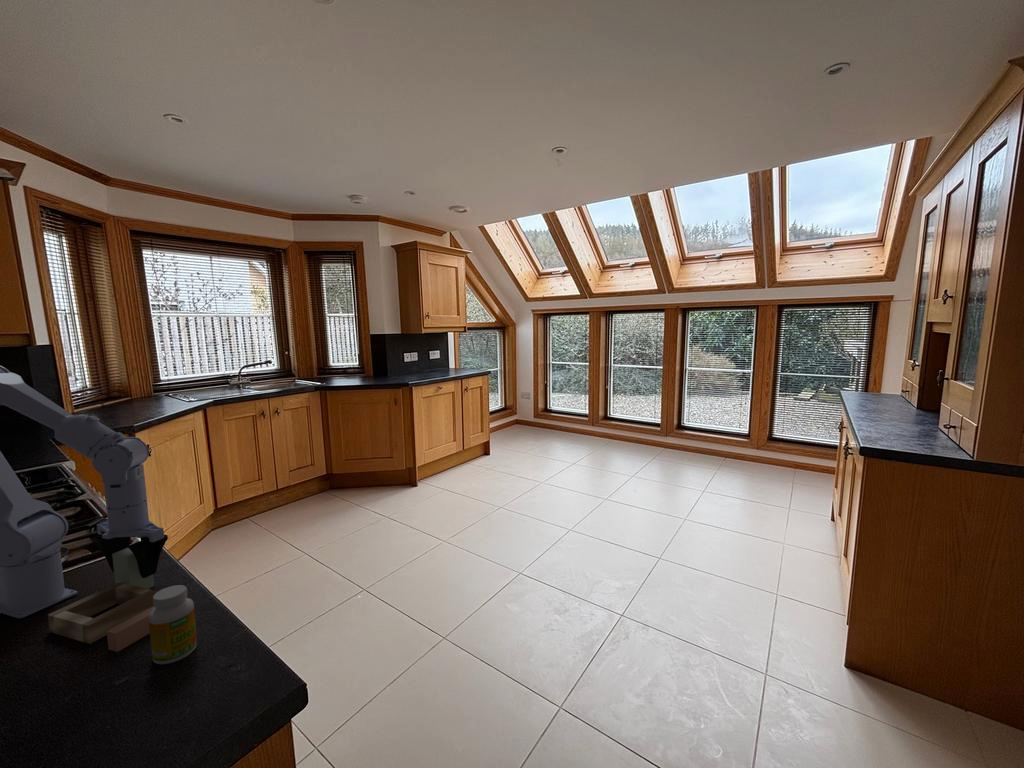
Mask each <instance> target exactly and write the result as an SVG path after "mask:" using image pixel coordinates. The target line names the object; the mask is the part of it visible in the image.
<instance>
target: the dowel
mask: <svg viewBox="0 0 1024 768" xmlns="http://www.w3.org/2000/svg"><path fill="white" fill-rule="evenodd" d="M112 557H113V567H114V573H113V574H114V575H113V576H114V584H116V583H118V582H120V583H124V584H129V585H133V586H138V587H142V588H147V589H149V588H150V589H152V588H154V587H155V578H154V577H155V576H154V574H153V575H151V576H148V577H146V578H142V577H141V575H140V572H139V567H138V563H137V560H136V558H135V556H134V554H133V553H132V551H131V550H130V549H129V548H126V549H123V550H121V551H118V552H116V553H113V554H112ZM153 586H154V587H153ZM151 587H152V588H151Z"/></svg>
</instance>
